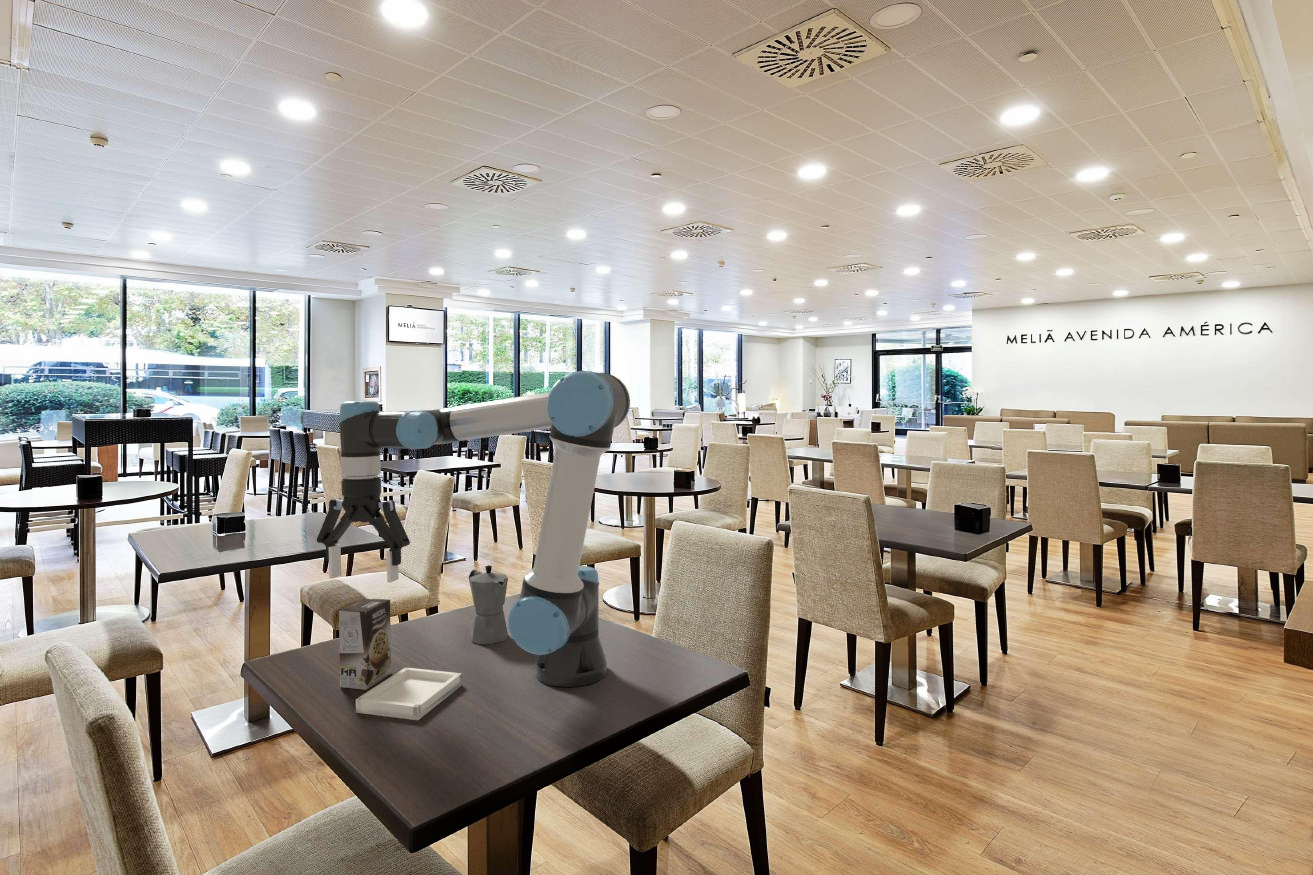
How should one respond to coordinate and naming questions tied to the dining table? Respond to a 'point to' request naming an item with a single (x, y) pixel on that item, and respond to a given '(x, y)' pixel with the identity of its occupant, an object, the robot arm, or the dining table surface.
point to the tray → (409, 693)
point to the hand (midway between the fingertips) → (363, 579)
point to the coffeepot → (488, 606)
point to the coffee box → (364, 643)
